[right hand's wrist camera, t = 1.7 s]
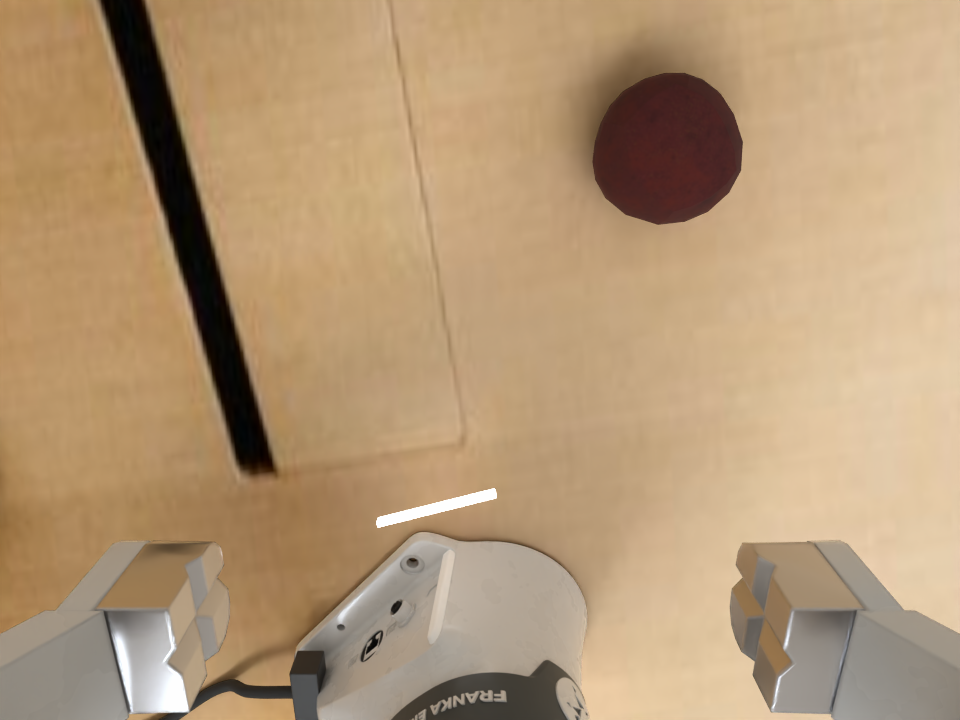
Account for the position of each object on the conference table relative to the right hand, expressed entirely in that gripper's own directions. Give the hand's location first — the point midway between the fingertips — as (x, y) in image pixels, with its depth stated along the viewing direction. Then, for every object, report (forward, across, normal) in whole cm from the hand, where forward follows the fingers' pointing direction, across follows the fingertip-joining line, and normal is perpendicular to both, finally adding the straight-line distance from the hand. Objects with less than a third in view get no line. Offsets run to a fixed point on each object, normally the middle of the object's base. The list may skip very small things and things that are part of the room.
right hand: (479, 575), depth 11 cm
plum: (+32, -10, -5) cm, 33 cm away
